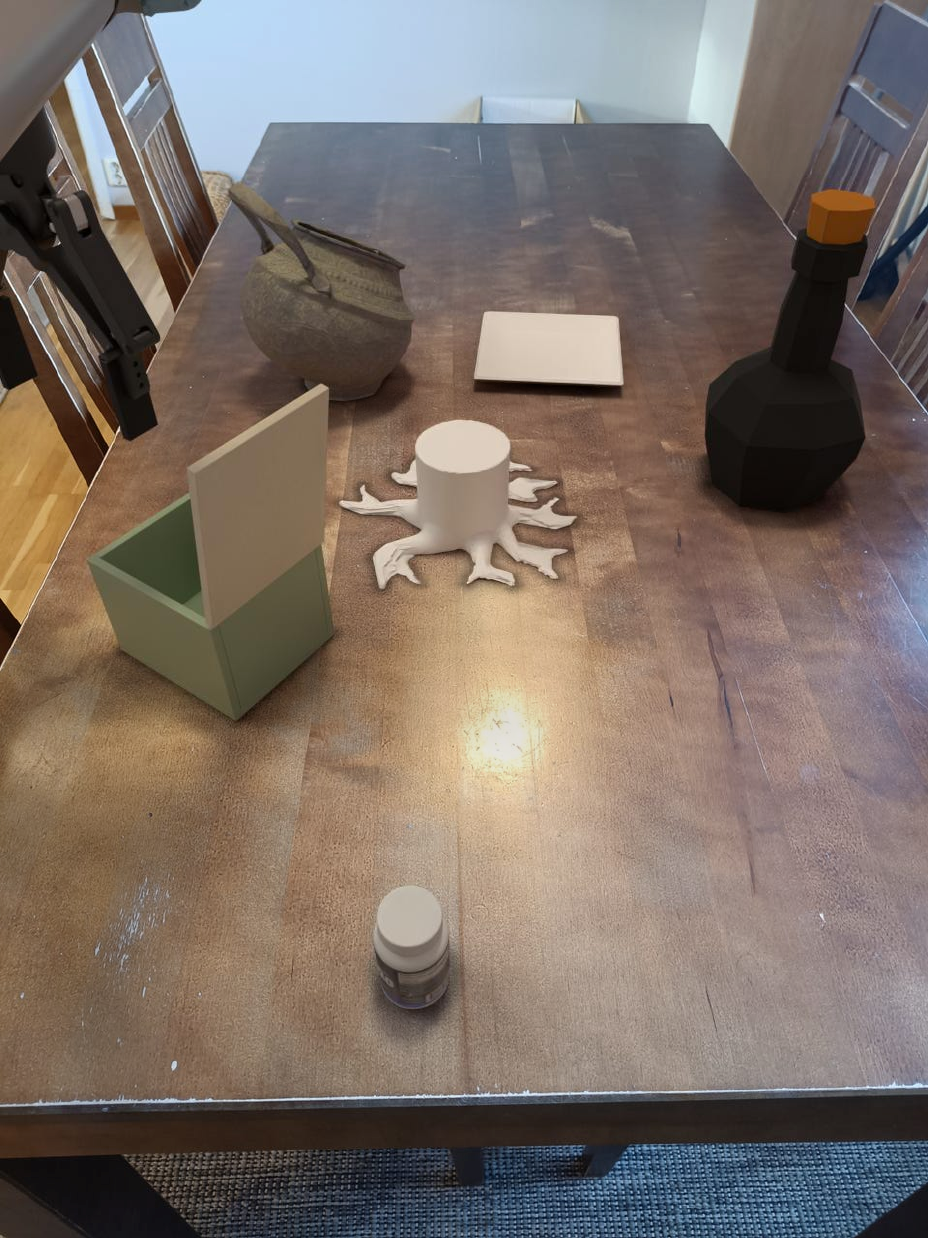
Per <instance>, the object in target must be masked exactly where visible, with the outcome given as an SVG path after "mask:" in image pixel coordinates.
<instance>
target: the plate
mask: <svg viewBox="0 0 928 1238" xmlns="http://www.w3.org/2000/svg"><path fill="white" fill-rule="evenodd" d="M619 320H620V319H619V317H618V316H615V315H599V314H595V315H594V314H573V313H572V314H571V313H570V314H569V313H541V312H517V311H492V310H491V311H490V310H489V311H485V312H483V316H482V323H481V329H480V334H479V342H478V348H477V354H476V360H475V367H474V373H473V379H474V380H475V381H477V382H486V383H487V382H489V383H511V384H513V383H514V384H533V385H534V384H536V385H557V386H559V385H560V386H580V387H583V386H584V387H605V388H606V387H607V388H620V387H622V386H623V385H624V383H625V382H624V372H623V371H624V370H623V361H622V360H623V359H622V348H621V347H622V346H621V345H622V344H621V334H620V321H619Z"/></svg>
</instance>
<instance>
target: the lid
mask: <svg viewBox="0 0 928 1238" xmlns="http://www.w3.org/2000/svg"><path fill="white" fill-rule="evenodd" d="M329 401H330V400H329V388H328V387H326V386H325V385H323V384H319V385H318V386H316V387H314V388H313V389H311V390H308V391H307V392H305V393H303V394H302V395H300V396H298V397H297V398H295V399H294V400H292V401H291V402H289V403H287V404H285V405H284V406H282V407H281V408H279V409H278V410H276V411H275V412H273V413H272V414H270V415H268V416H266V417H265V418H264V419H263V418H262V420H261V421H259V422H257V423H255V424H254V425H252V426H250V427H249V428H248V429H246V430H244V431H242V432H241V433H239V434H238V435H236V436H235V437H233V438H232V439H230V440H228V441H227V442H225V443H223V444H222V445H221V446H219V447H217V448H216V449H214V450H213V451H210V452H209V453H207V454H206V455H204V456H203V457H201V458H200V459H198V460H196V461H195V462H193V463H192V464H190V465H188V466H187V467H186V475H187V482H188V490H189V492H190V499H191V507H192V515H193V523H194V532H195V540H196V548H197V556H198V564H199V572H200V580H201V588H202V596H203V604H204V612H205V620H206V624H207V625H209V626H210V627H211V628H215V627H216V626H217V625H219V624H220V623H221V622H222V621H224V620H225V619H226V618H228V617H229V616H230V615H231V614H233V613H234V612H235V611H236V610H238V609H239V608H240V607H242V606H243V605H244V604H245V603H247V602H248V601H249V600H250V599H252V598H253V597H254V596H256V595H257V594H258V593H259V592H261V591H262V590H263V589H264V588H266V587H267V586H268V585H270V584H271V583H272V582H273V581H275V580H276V579H277V578H278V577H280V576H281V575H282V574H284V573H285V572H286V571H287V570H289V569H290V568H291V567H292V566H294V565H295V564H296V563H297V562H299V561H300V560H301V559H303V558H304V557H305V556H306V555H308V554H309V553H310V552H311V551H313V550H314V549H315V548H317V547H318V546H319V545H320V544H323V543H324V542H325V531H326V530H325V529H326V502H327V501H326V498H327V497H326V495H327V469H328V467H327V464H328V463H327V462H328V433H329Z"/></svg>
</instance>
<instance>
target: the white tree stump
mask: <svg viewBox="0 0 928 1238" xmlns="http://www.w3.org/2000/svg"><path fill="white" fill-rule="evenodd" d="M414 452H415V453H414V454H415V459H414V460H412V463H411V464H410V466H409V470H408V471H406V473H399V472H397V471H394V472H392V473H391V474H390V475H391V479H392V480H393V481H394V482H396V483H397V484H399V485H405V486H410V487H415V488H416V492H417V497H416V498H413V499H409V498H408V499H393V500H392V499H391V500H386V501H380V500H379V499H378V498H376V497H374V496H372V495H371V494H369V493H368V492H367V491H366V485H365V484H362V486H361V487H360V488H359V490H360V494H361V495H362V497H361V498H362V500H361V501H352V500H343V499H342V500H340V501H339V502H338V504H339V506H340V507H342V508H343V509H346V510H350V511H352V512H354V513H357V514H360V515H367V516H368V515H369V516H370V515H371V516H390V517H391V516H393V517H399V518H401V519H403V520H404V521H406V522H407V523H409V524H410V525H412V526H414V527H416V528H418V529H419V530H420V531H419V532H418V533H416V534H414V535H410V536H407V537H403V538H400V539H397V540H394V541H389V542H387V543H385V544H384V545H383V546H381V547H380V548H379V549H377V550H376V551H375V552H374V554H373V556H372V560H373V566H374V570H375V576H376V581H377V585H378V588H379V589H380V590H384V589H385V588H386V586H387V583H388V581H389V580H390V579H391V578H392V577H394V576H395V575H396V574H399V575H401V576H406V578H407V579H408V580H409V581H410V582H412V583H414V584H417V585H421V584H422V583H421V581H420V580H418V579H417V575H415V573H414V572H413V569H411V568H410V565H409V564H408V562H409V560H410V559H412V558H414V556H415V555H434V554H439V553H445V552H451V551H456V550H458V549H459V550H463V551H465V552H467V553H468V554H469V555H470V558H471V560H472V563H473V564H475V565H473V571H472V573H471V574H470V575H469V576H468V579H467V581H466V584H467V585H469V584H470V583H472V582H473V581H475V580H477V579H479V578H480V579H486V580H493V581H497V582H501V583H503V584H506V585H508V586H510V587H515V586H516V585H515V582H516V581H515V580H516V579H515V577H514V575H513V573H512V572H509V571H506V570H504V569H500V568H496V567H494V566H493V565H492V564H491V558H492V553H493V547H494V545H495V544H498V545H499V546H500V547H501V548H502V549H503V550H504V551H505V552H506V553H507V554H509V556H510V557H512V558H513V560H515V561H516V562H517V563H519V562H523V564H528V565H530V566H532V567H537V568H538V569H537V570H538V572H540V573H543V574H544V576H548V577H549V578H550V579H552V580H558V579H559V576H558V574H557V573H556V571H554V570H553V561H552V560H553V558H554V557H555V556H559V555H562V554H563V555H564V554H565V553H568V552H569V550H568V549H565V548H546V547H542V546H537V545H534V544H529V543H525V542H522V541H521V542H520V541H518V540H517V537H516V534H515V533H514V531H513V527H515V525H517V524H522V525H523V524H524V525H529V526H534V527H542V528H548V529H551V530H557V529H561V528H564V527H568V526H571V525H572V524H573V522H574V521H575V520H576V519H577V518H578V515H561V514H557V513H554V511H552V506H554V504H555V503H556V502H557V501H559V500H560V498H558V497H556V496H554V497H553V499H549V501H548V502H547V503H546V504H542V506H541V507H540V508H538V509H533V508H531V507H530V508H528V507H523V506H516V505H513V504H509V499H512V500H514V501H515V500H516V501H520V502H526V503H535V502H538V498H537V497H536V494H534V492H536V491H537V490H547V489H549V488H551V487H554V486H556V485H557V484H558V481H556V480H544V479H536V478H535V479H534V478H531V479H530V478H529V477H517V478H515V479H514V480H513V481H510V473H511V472H514V471H519V472H520V471H521V472H522V471H524V472H532V471H533V469H531V467H530V466H529V465H526V464H520V463H516V462H513V461H511V442H510V439H509V438H508V437H507V435H506V433H504V432H502V430H501V429H498V428H497V427H495V425H492V424H489V423H485V422H481V421H480V420H477V421H475V420H473V419H469V420H465V419H453V420H449V421H442V422H440V423H436V424H434V425H433V426H430V427H428V428H427V429H425V430H424V431H422V433H420V435H419V436H418V437H417V439H416V441H415V444H414Z"/></svg>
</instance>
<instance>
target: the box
mask: <svg viewBox="0 0 928 1238" xmlns="http://www.w3.org/2000/svg"><path fill="white" fill-rule="evenodd" d="M322 544H323V543H322ZM322 544H320V545H319V546H318V547H317V548H315V549H314V550H313V551H311V552H310V553H309V554H308V555H306V556H305V557H304V558H303V559H301V560H300V561H299V562H297V563H296V564H295V565H294V566H292V567H291V568H290V569H289V570H287V571H286V572H285V573H284V574H282V575H281V576H280V577H278V578H277V579H276V580H275V581H273V582H272V583H271V584H270V585H268V586H267V587H266V588H264V589H263V590H262V591H261V592H259V593H258V594H257V595H256V596H254V597H253V598H252V599H250V600H249V601H248V602H247V603H245V604H244V605H243V606H242V607H240V608H239V609H238V610H236V611H235V612H234V613H233V614H231V615H230V616H229V617H228V618H226V619H225V620H224V621H222V622H221V623H220V624H219V625H217V626H216V627H215V628H211V627H210V626H209V625H207V624H206V620H205V612H204V604H203V596H202V588H201V580H200V572H199V564H198V556H197V548H196V540H195V532H194V523H193V515H192V507H191V499H190V491H189V492H188V493H186V494H184V495H183V496H181V497H179V498H178V499H177V500H175V501H174V502H172V503H170V504H169V505H168V506H166V507H164V508H163V509H161V510H159V511H158V512H157V513H155V514H153V515H152V516H150V517H149V518H147V519H146V520H144V521H143V522H141V523H139V524H138V525H137V526H135V527H133V528H132V529H131V530H129V531H128V532H126V533H125V534H123V535H121V536H119V537H118V538H117V539H115V540H114V541H111V542H110V543H109V544H107V545H105V546H104V547H103V548H101V549H100V550H98V551H97V552H95V553H94V554H92V555H91V556H89V557H87V558H86V562H87V565H88V569H89V571H90V573H91V576H92V578H93V581H94V583H95V585H96V588H97V591H98V594H99V596H100V599H101V602H102V603H103V606H104V609H105V611H106V614H107V617H108V619H109V622H110V625H111V627H112V629H113V632H114V635H115V637H116V640H117V643H118V645H119V648H120V649H121V651H123V652H124V653H125V654H127V655H128V656H130V657H132V658H134V659H135V660H137V661H139V663H142V664H143V665H145V666H147V667H148V668H150V669H151V670H153V671H154V672H156V673H158V674H160V675H161V676H163V677H164V678H165V679H167V680H169V681H171V682H172V683H174V684H175V685H177V686H178V687H180V688H181V689H183V690H185V691H186V692H188V693H190V694H192V695H193V696H195V698H198V699H200V700H201V701H203V702H204V703H206V704H208V706H211V707H212V708H214V709H215V710H217V711H219V712H220V713H221V714H224V715H225V716H226V717H228V718H230V719H232V720H233V721H235V722H237V721H238V720H239V719H240V718H242V717H243V716H244V715H245V714H247V712H248V711H249V710H251V709H252V708H253V707H254V706H255V705H256V704H258V703H259V702H260V701H261V700H262V699H264V697H266V695H268V694H269V693H270V692H271V691H272V690H274V689H275V687H277V686H278V685H279V684H280V683H281V682H283V681H284V680H285V679H286V678H287V677H288V676H289V675H290V674H292V672H294V671H295V670H296V669H298V667H299V666H301V664H303V663H304V662H305V661H306V660H307V659H308V658H309V657H311V656H312V655H313V654H314V653H315V652H316V651H317V650H319V649H320V648H321V647H322V646H323V645H324V644H325V643H326V642H327V641H329V640H330V639H331V638H332V637H333V636H334V635H335V629H334V622H333V620H334V619H333V613H332V607H331V600H330V594H329V587H328V579H327V573H326V566H325V558H324V553H323V552H324V551H323V545H322Z"/></svg>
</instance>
